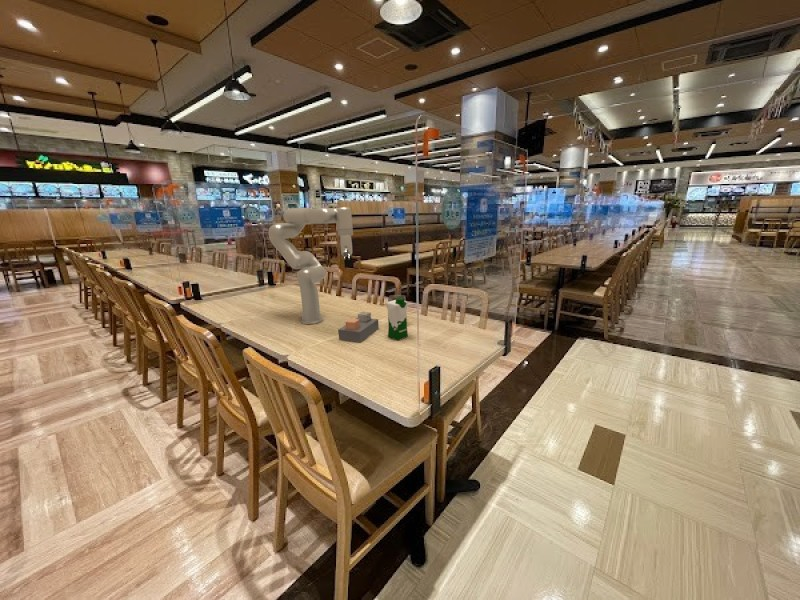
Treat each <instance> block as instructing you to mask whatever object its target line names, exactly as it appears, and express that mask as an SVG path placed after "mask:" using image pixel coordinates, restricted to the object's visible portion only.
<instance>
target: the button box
mask: <svg viewBox="0 0 800 600" xmlns="http://www.w3.org/2000/svg"><path fill="white" fill-rule="evenodd" d="M355 319H358V317H357V318H355ZM379 325H380V324H379V319H378V318H371V320H370V321H369V322H367V323H364V322H360V328H358V329H357V330H355V331H354V330H346V324H345V325H343V326H341V327H340V328H338V329H337V330H338V331H337V332H338V341H343V340H345V341H344V342H350V341H352V343H357V342H358V343H359V344H361V343H362V342H365V340H366V339H368V338H369V337H371V336H372V335H373V334H375V332H377V331H378V330H379V329H380V328H379Z"/></svg>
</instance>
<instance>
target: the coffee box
mask: <svg viewBox="0 0 800 600" xmlns="http://www.w3.org/2000/svg"><path fill="white" fill-rule="evenodd" d="M396 298H404V301H406V295H405V294H395V295H393V294H391V295H389V296H388V298H387V299H388V301H387V302H390V301H393V300H396ZM406 302H407V301H406Z"/></svg>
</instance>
